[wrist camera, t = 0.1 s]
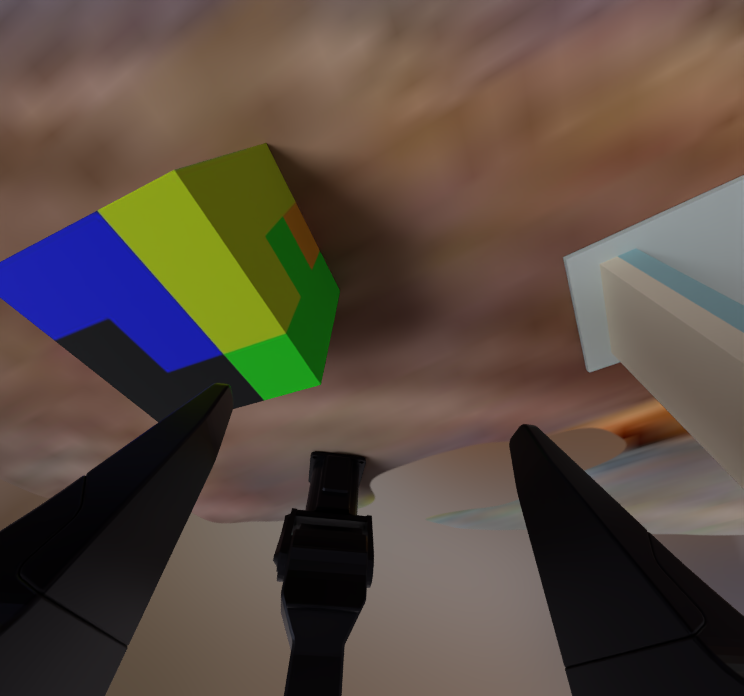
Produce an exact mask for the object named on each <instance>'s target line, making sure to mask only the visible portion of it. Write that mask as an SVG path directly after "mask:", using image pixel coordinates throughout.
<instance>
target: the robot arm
mask: <svg viewBox="0 0 744 696" xmlns="http://www.w3.org/2000/svg"><path fill="white" fill-rule="evenodd" d="M232 410H233V397H232V390H231V386H230V385H228V384H222V383H215V384H212V385H211V386H210V387H208V388H207V389H205V390H204V391H203V392H201V393H200V394H198V395H197V396H195V397H194V398H193V399H191V400H190V401H188V402H187V403H186V404H184V405H183V406H181V407H180V408H178V409H177V410H176V411H174V412H173V413H171V414H170V415H169V416H167V417H166V418H164V419H163V420H161V421H160V422H159V423H157V424H156V425H154V426H153V427H152V428H150V429H149V430H147V431H146V432H144V433H143V434H142V435H140V436H139V437H137V438H136V439H135V440H133V441H132V442H130V443H129V444H127V445H126V446H125V447H123V448H122V449H120V450H119V451H118V452H116V453H115V454H113V455H112V456H110V457H109V458H108V459H106V460H105V461H103V462H102V463H101V464H99V465H98V466H96V467H95V468H93V469H92V470H91V471H89V472H88V473H87V474H86V476H82V477H80V478H79V479H78V480H76V481H75V482H73V483H72V484H71V485H69V486H68V487H66V488H65V489H63V490H62V491H60V492H59V493H58V494H56V495H55V496H53V497H52V498H50V499H49V500H47V501H46V502H44V503H43V504H41V505H40V506H39V507H37V508H35V509H34V510H32V511H31V512H29V513H28V514H26V515H24V516H23V517H21V518H20V519H18V520H17V521H15V522H13V523H12V524H10V525H9V526H7V527H6V528H4V529H2V530H1V531H0V696H105V694H106V692H107V690H108V688H109V686H110V684H111V682H112V680H113V677H114V675H115V673H116V671H117V669H118V667H119V665H120V663H121V660H122V658H123V656H124V654H125V652H126V650H127V645H129V643H130V641H131V639H132V637H133V635H134V632H135V630H136V628H137V626H138V624H139V622H140V620H141V618H142V616H143V613H144V611H145V609H146V607H147V605H148V603H149V601H150V599H151V596H152V594H153V592H154V590H155V588H156V586H157V584H158V581H159V579H160V577H161V575H162V573H163V571H164V569H165V567H166V565H167V562H168V560H169V558H170V556H171V554H172V552H173V549H174V547H175V545H176V543H177V541H178V539H179V537H180V535H181V533H182V531H183V528H184V526H185V524H186V522H187V520H188V518H189V516H190V514H191V512H192V509H193V507H194V505H195V503H196V501H197V499H198V497H199V495H200V492H201V490H202V488H203V486H204V484H205V482H206V480H207V478H208V475H209V473H210V471H211V469H212V467H213V465H214V462H215V460H216V457H217V455H218V452H219V449H220V446H221V443H222V440H223V437H224V434H225V431H226V428H227V425H228V422H229V419H230V416H231V413H232ZM509 447H510V453H511V459H512V465H513V470H514V477H515V483H516V488H517V493H518V497H519V501H520V505H521V509H522V512H523V516H524V520H525V523H526V527H527V531H528V534H529V538H530V542H531V545H532V549H533V553H534V556H535V560H536V564H537V567H538V571H539V574H540V578H541V582H542V586H543V589H544V593H545V597H546V600H547V604H548V607H549V611H550V615H551V618H552V622H553V626H554V629H555V633H556V637H557V640H558V644H559V648H560V652H561V655H562V659H563V663H564V666H565V667H566V668H565V671H566V674H567V678H568V682H569V685H570V689H571V693H572V696H744V616H743V615H742V614H741V613H739V612H738V611H737V610H736V609H735V608H733V607H732V606H731V605H730V604H729V603H728V602H727V601H725V600H724V599H723V598H722V597H721V596H720V595H718V594H717V593H716V592H715V591H714V590H713V589H711V588H710V587H709V586H708V585H707V584H706V583H704V582H703V581H702V580H701V579H700V578H699V577H698V576H697V575H695V574H694V573H693V572H692V571H691V570H690V569H689V568H687V567H686V566H685V565H684V564H683V563H682V562H681V561H680V560H679V559H677V558H676V557H675V556H674V555H673V554H672V553H671V552H670V551H669V550H668V549H667V548H666V547H664V546H663V545H662V544H661V543H660V542H659V541H658V540H657V539H656V538H655V537H654V536H653V535H652V534H651V533H649V532H647V530H646V529H645V528H644V527H643V526H642V525H641V524H640V523H639V522H638V521H637V520H636V519H635V518H634V517H633V516H632V515H630V514H629V513H628V512H627V511H626V510H625V509H624V508H623V507H622V506H621V505H620V504H619V503H618V502H617V501H616V500H615V499H613V498H612V497H611V496H610V495H609V494H608V493H607V492H606V491H605V490H604V489H603V488H602V487H601V486H600V485H599V484H598V483H596V482H595V481H594V480H593V479H592V478H591V477H590V476H589V475H588V474H587V473H586V472H585V471H584V470H583V469H582V468H580V467H579V466H578V465H577V464H576V463H575V462H574V461H573V460H572V459H571V458H570V457H569V456H568V455H567V454H566V453H565V452H564V451H562V450H561V449H560V448H559V447H558V446H557V445H556V444H555V443H554V442H553V441H552V440H551V439H550V438H549V437H548V436H547V435H545V434H544V433H543V432H542V431H541V430H540V429H539V428H538V427H537V426H534V425H528V424H523V425H521V426H520V427H519V428H518V430H517V431H516V432H515V433H514V435H513V436H512V437H511V439H510V443H509ZM365 464H366V459H365V458H364V457H358V456H348V455H339V454H330V453H321V452H312V453H311V458H310V470H309V483H310V488H309V494H308V499H307V505H306V510H297V509H295V508H292V511H291V513H290V514H288V515H286V516H285V520H284V524H283V528H282V532H281V535H280V539H279V542H278V545H277V548H276V551H275V554H274V559H273V561H274V563H275V564H276V566H277V572H278V575H277V581H279V582H283V585H282V590H281V615H282V618H283V622H284V626H285V630H286V634H287V637H288V641H289V645H290V649H291V655H290V661H289V667H288V673H287V679H286V686H285V692H284V696H341V695H342V694H341V693H342V677H343V661H344V646H345V643H346V641H347V639H348V637H349V635H350V633H351V631H352V628H353V626H354V624H355V622H356V620H357V618H358V616H359V614H360V612H361V610H362V608H363V606H364V604H365V601H366V590H367V588H370V586H371V583H372V577H373V567H374V549H373V548H374V547H373V530H372V516H369V515H367V516H359V515H357V508H358V488H359V485H360V481H361V478H362V474H363V471H364V467H365Z"/></svg>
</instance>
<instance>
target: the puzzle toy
mask: <svg viewBox="0 0 744 696" xmlns="http://www.w3.org/2000/svg"><path fill="white" fill-rule="evenodd" d="M339 294H340V290H339V288H338V286H337V284H336V282H335V280H334V278H333V276H332V274H331V272H330V270H329V268H328V266H327V264H326V262H325V260H324V258H323V256H322V254H321V252H320V250H319V248H318V246H317V244H316V242H315V240H314V238H313V236H312V234H311V232H310V230H309V228H308V226H307V224H306V222H305V220H304V218H303V216H302V214H301V212H300V210H299V208H298V206H297V204H296V202H295V200H294V198H293V196H292V194H291V192H290V190H289V188H288V186H287V184H286V182H285V180H284V178H283V176H282V174H281V172H280V170H279V168H278V166H277V164H276V162H275V160H274V158H273V156H272V154H271V152H270V150H269V148H268V146H267V144H266V143H264V144H261V145H257V146H254V147H250V148H247V149H244V150H240V151H237V152H233V153H230V154H227V155H223V156H220V157H216V158H213V159H210V160H206V161H203V162H199V163H196V164H193V165H189V166H186V167H182V168H179V169H176V170H173V171H171V172H169V173H167V174H166V175H164V176H162V177H160V178H158V179H156V180H154V181H152V182H150V183H149V184H147V185H145V186H143V187H141V188H139V189H137V190H135V191H133V192H132V193H130V194H128V195H126V196H124V197H122V198H120V199H118V200H116V201H115V202H113V203H111V204H109V205H107V206H105V207H103V208H101V209H99V210H98V211H96V212H94V213H92V214H90V215H88V216H86V217H84V218H82V219H80V220H79V221H77V222H75V223H73V224H71V225H69V226H67V227H65V228H63V229H62V230H60V231H58V232H56V233H54V234H52V235H50V236H48V237H46V238H45V239H43V240H41V241H39V242H37V243H35V244H33V245H31V246H29V247H28V248H26V249H24V250H22V251H20V252H18V253H16V254H14V255H12V256H11V257H9V258H7V259H5V260H3V261H1V262H0V298H1V299H3V300H4V301H5V302H6V303H8V304H9V305H10V306H12V307H13V308H14V309H15V310H17V311H18V312H19V313H20V314H22V315H23V316H24V317H25V318H27V319H28V320H29V321H31V322H32V323H33V324H34V325H36V326H37V327H38V328H39V329H41V330H42V331H43V332H45V333H46V334H47V335H48V336H50V337H51V338H52V339H53V340H55V341H56V342H57V343H58V344H60V345H61V346H62V347H64V348H65V349H66V350H67V351H69V352H70V353H71V354H72V355H74V356H75V357H76V358H78V359H79V360H80V361H81V362H83V363H84V364H85V365H86V366H88V367H89V368H90V369H91V370H93V371H94V372H95V373H97V374H98V375H99V376H100V377H102V378H103V379H104V380H105V381H107V382H108V383H109V384H111V385H112V386H113V387H114V388H116V389H117V390H118V391H119V392H121V393H122V394H123V395H124V396H126V397H127V398H128V399H130V400H131V401H132V402H133V403H135V404H136V405H137V406H138V407H140V408H141V409H142V410H144V411H145V412H146V413H147V414H149V415H150V416H151V417H152V418H154V419H155V420H156V421H157V422H160V421H161V420H163V419H164V418H166V417H167V416H169V415H170V414H171V413H173V412H174V411H176V410H177V409H178V408H180V407H181V406H183V405H184V404H186V403H187V402H188V401H190V400H191V399H193V398H194V397H195V396H197V395H198V394H200V393H201V392H203V391H204V390H205V389H207V388H208V387H210V386H211V385H212V384H215V383H222V384H228V385H230V386H231V390H232V397H233V409H235V408H239V407H242V406H246V405H250V404H253V403H257V402H260V401H264V400H267V399H271V398H275V397H278V396H282V395H285V394H289V393H293V392H296V391H300V390H303V389H307V388H310V387H314V386H318V385H321V381H322V376H323V372H324V367H325V362H326V357H327V352H328V347H329V343H330V338H331V333H332V328H333V323H334V318H335V314H336V309H337V304H338V299H339Z"/></svg>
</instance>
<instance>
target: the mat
mask: <svg viewBox="0 0 744 696" xmlns="http://www.w3.org/2000/svg"><path fill="white" fill-rule="evenodd" d="M635 248H636V249H638V250H640V251H642V252H644V253H646V254H648V255H650V256H651V257H653V258H655V259H657V260H659V261H661V262H663V263H665V264H666V265H668V266H670V267H672V268H674V269H676V270H678V271H680V272H682V273H683V274H685V275H687V276H689V277H691V278H693V279H695V280H697V281H698V282H700V283H702V284H704V285H706V286H708V287H710V288H712V289H714V290H715V291H717V292H719V293H721V294H723V295H725V296H727V297H729V298H730V299H732V300H734V301H736V302H738V303H740V304H742V305H744V175H743V176H740V177H738V178H736V179H734V180H732V181H729V182H727V183H725V184H723V185H721V186H718V187H716V188H714V189H712V190H710V191H708V192H705V193H703V194H701V195H699V196H697V197H694V198H692V199H690V200H688V201H686V202H683V203H681V204H679V205H677V206H675V207H672V208H670V209H668V210H666V211H664V212H661V213H659V214H657V215H655V216H653V217H651V218H648V219H646V220H644V221H642V222H640V223H637V224H635V225H633V226H631V227H629V228H626V229H624V230H622V231H620V232H618V233H615V234H613V235H611V236H609V237H607V238H605V239H602V240H600V241H598V242H596V243H594V244H591V245H589V246H587V247H585V248H583V249H580V250H578V251H576V252H574V253H572V254H569V255H567V256H565V257H563V259H564V264H565V269H566V274H567V279H568V283H569V288H570V293H571V298H572V303H573V307H574V312H575V317H576V322H577V327H578V332H579V336H580V341H581V346H582V351H583V356H584V360H585V365H586V370H587V371H588V372H592V371H595V370H598V369H601V368H604V367H607V366H610V365H613V364H616V363H619V362H620V361H619V360H618V359H617V358H616V357H615V356H614V355H613V354H612V353H611V345H610V338H609V331H608V323H607V316H606V308H605V301H604V294H603V286H602V279H601V271H600V264H601V263H603V262H606V261H608V260H610V259H612V258H615V257H617V256H619V255H622V254H624V253H626V252H629V251H631V250H633V249H635Z"/></svg>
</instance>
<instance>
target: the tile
mask: <svg viewBox="0 0 744 696" xmlns="http://www.w3.org/2000/svg"><path fill="white" fill-rule="evenodd" d="M600 271H601V279H602V286H603V294H604V301H605V308H606V316H607V323H608V331H609V338H610V345H611V353H612V354H613V355H614V356H615V357H616V358H617V359H618V360H619V361H620V362H621V363H622V364H623V365H624V366H625V367H626V368H627V369H628V370H629V371H630V372H631V373H632V374H633V375H634V376H635V378H636V379H637V380H638V381H639V382H640V383H641V384H642V385H643V386H644V387H645V388H646V389H647V390H648V391H649V392H650V393H651V394H652V395H653V396H654V397H655V398H656V399H657V400H658V401H659V402H660V403H661V404H662V405H663V406H664V407H665V409H666V410H667V411H668V412H669V413H670V414H671V415H672V416H673V417H674V418H675V419H676V420H677V421H678V422H679V423H680V424H681V425H682V426H683V427H684V428H685V429H686V430H687V431H688V432H689V433H690V434H691V435H692V436H693V437H694V438H695V440H696V441H697V442H698V443H699V444H700V445H701V446H702V447H703V448H704V449H705V450H706V451H707V452H708V453H709V454H710V455H711V456H712V457H713V458H714V459H715V460H716V461H717V462H718V463H719V464H720V465H721V466H722V467H723V468H724V469H725V470H726V472H727V473H728V474H729V475H730V476H731V477H732V478H733V479H734V480H735V481H736V482H737V483H738V484H739V485H740V486H741V487H742V488H743V489H744V305H742V304H740V303H738V302H736V301H734V300H732V299H730V298H729V297H727V296H725V295H723V294H721V293H719V292H717V291H715V290H714V289H712V288H710V287H708V286H706V285H704V284H702V283H700V282H698V281H697V280H695V279H693V278H691V277H689V276H687V275H685V274H683V273H682V272H680V271H678V270H676V269H674V268H672V267H670V266H668V265H666V264H665V263H663V262H661V261H659V260H657V259H655V258H653V257H651V256H650V255H648V254H646V253H644V252H642V251H640V250H638V249H636V248H635V249H633V250H631V251H629V252H626V253H624V254H622V255H619V256H617V257H615V258H612V259H610V260H608V261H606V262H603V263H601V264H600Z"/></svg>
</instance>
